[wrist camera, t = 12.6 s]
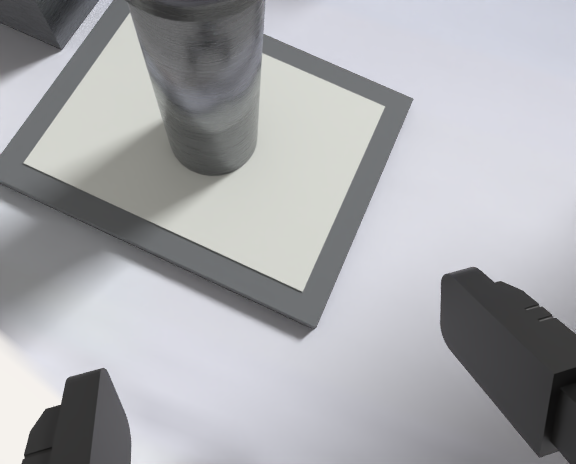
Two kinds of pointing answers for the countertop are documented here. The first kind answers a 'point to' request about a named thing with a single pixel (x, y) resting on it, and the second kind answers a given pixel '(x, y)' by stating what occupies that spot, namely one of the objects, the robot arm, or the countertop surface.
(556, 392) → the robot arm
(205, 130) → the salt shaker
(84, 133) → the mat
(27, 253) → the countertop surface
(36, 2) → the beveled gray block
